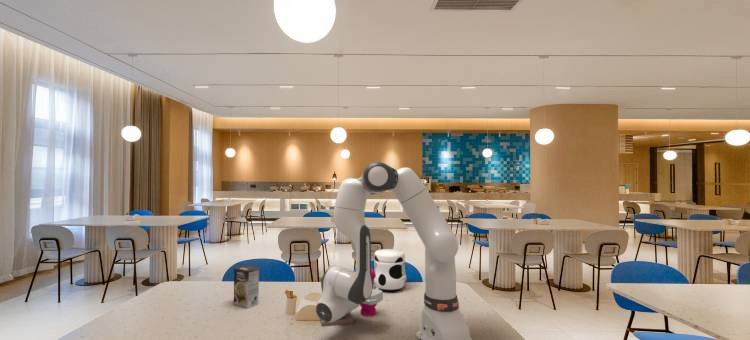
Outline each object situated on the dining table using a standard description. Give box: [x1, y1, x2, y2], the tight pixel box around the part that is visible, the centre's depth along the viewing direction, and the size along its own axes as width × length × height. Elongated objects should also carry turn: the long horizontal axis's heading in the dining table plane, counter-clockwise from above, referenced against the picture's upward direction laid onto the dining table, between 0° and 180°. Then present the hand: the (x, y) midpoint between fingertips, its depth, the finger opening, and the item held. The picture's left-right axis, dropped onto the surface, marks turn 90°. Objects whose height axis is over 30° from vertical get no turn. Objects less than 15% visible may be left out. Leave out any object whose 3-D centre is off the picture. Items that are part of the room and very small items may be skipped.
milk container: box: [373, 248, 408, 292], centre depth 170 cm, size 17×17×18 cm
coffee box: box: [233, 265, 260, 309], centre depth 148 cm, size 9×6×16 cm
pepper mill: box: [359, 268, 378, 317], centre depth 139 cm, size 7×7×20 cm
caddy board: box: [319, 312, 354, 327], centre depth 138 cm, size 20×12×4 cm, turn 16°
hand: (367, 287), depth 138 cm, fingers open, 8 cm apart
